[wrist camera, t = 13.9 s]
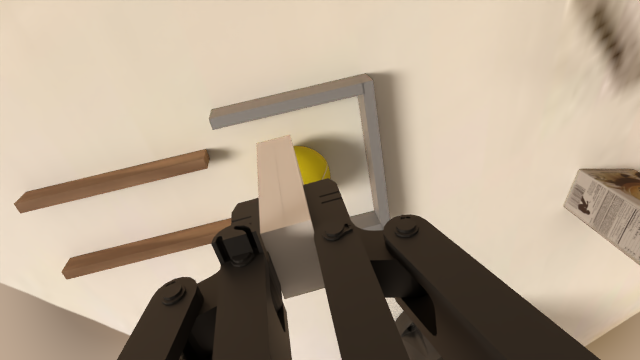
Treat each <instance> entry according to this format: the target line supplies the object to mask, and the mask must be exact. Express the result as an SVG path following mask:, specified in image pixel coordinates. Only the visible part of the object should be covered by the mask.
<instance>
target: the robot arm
mask: <svg viewBox="0 0 640 360" xmlns="http://www.w3.org/2000/svg"><path fill="white" fill-rule="evenodd" d="M257 168H258V192H259V198H256V199H253V200H249V201H245V202H242V203H238V204H237V205H236V207H235V209H234V210H233V212H232V217H231V222H232V223H231V225H230V226H228V227H226V228H224V229H222V230H221V231H219V232H218V233H217V234H216V235H215V236H214V238H213V240H212V242H211V244H212V246H213V249H214V251H215V253H216V255H217V257H218V259H219V262H220V264H221V268H220V270H219V271H218V272H217V273H216V274H214V275H213V276H211V277H209V278H207V279H205V280H203V281H201V282H200V283H198V284H197V283H196V281H195V280H194V279H192V278H190V277H181V278H177V279H174V280H172V281H170V282H168V283H166V284H164V285H163V286H162V287H161V288H159V289H158V290H157V292H156V293H155V294H154V295H153V297H152V299H151V300H150V302H149V304H148V306H147V307H146V309H145V311H144V313H143V315H142V316H141V318H140V320H139V322H138V323H137V325H136V327H135V329H134V330H133V332H132V334H131V336H130V338H129V339H128V341H127V343H126V345H125V346H124V348H123V350H122V352H121V354H120V355H119V357H118V359H117V360H292V357H291V348H290V339H289V330H288V321H287V312H286V309H285V307H284V304H283V301H282V293H283V296H284V299H287V298H290V297H294V296H297V295H301V294H305V293H308V292H312V291H315V290H319V289H322V288H325V289H326V294H327V298H328V302H329V307H330V311H331V315H332V320H333V324H334V328H335V333H336V337H337V341H338V345H339V350H340V354H341V358H342V360H600V359H599V358H598V357H596V356H595V355H594V354H593V353H591V352H590V351H589V350H587V349H586V348H585V347H584V346H583V345H581V344H580V343H579V342H578V341H576V340H575V339H574V338H573V337H571V336H570V335H569V334H568V333H566V332H565V331H564V330H563V329H561V328H560V327H559V326H558V325H556V324H555V323H554V322H553V321H551V320H550V319H549V318H548V317H546V316H545V315H544V314H543V313H541V312H540V311H539V310H538V309H536V308H535V307H534V306H533V305H531V304H530V303H529V302H528V301H526V300H525V299H524V298H523V297H521V296H520V295H519V294H518V293H516V292H515V291H514V290H513V289H511V288H510V287H509V286H508V285H506V284H505V283H504V282H503V281H501V280H500V279H499V278H498V277H497V276H495V275H494V274H493V273H492V272H490V271H489V270H488V269H487V268H485V267H484V266H483V265H482V264H480V263H479V262H478V261H477V260H475V259H474V258H473V257H472V256H470V255H469V254H468V253H467V252H465V251H464V250H463V249H462V248H460V247H459V246H458V245H457V244H455V243H454V242H453V241H452V240H450V239H449V238H448V237H447V236H445V235H444V234H443V233H442V232H440V231H439V230H438V229H437V228H435V227H434V226H433V225H432V224H430V223H429V222H428V221H427V220H425V219H423V218H421V217H420V216H415V215H401V216H397V217H394V218H392V219H391V220H389V221H388V222H387V223H386V224H385V226H384V229H383V230H375V231H374V230H364V229H361V228H358V227H357V226H355V225H354V224H353V222H352V221H351V219H350V217H349V214H348V212H347V209H346V207H345V204H344V202H343V199H342V197H341V194H340V192H339V189H338V187H337V184H336V183H335V182H333V181H332V180H330V179H329V178H327V179H323V180H319V181H316V182H312V183H308V184H304V183H303V180H302V176H301V172H300V169H299V165H298V162H297V158H296V154H295V151H294V147H293V144H292V140H291V136H290V135H286V136H283V137H279V138H275V139H271V140H268V141H264V142H260V143H257ZM281 291H282V293H281ZM385 298H395V300H396V302H397V303H398V304H399V305H400V307H401V308H402V309H403V310H404V312H403V313H402V314H401V315H400V316H399V317H398V318H397V320H396V321H394V319H393V316H392V314H391V311H390V309H389V307H388V304H387V302H386V299H385Z"/></svg>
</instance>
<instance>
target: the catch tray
mask: <svg viewBox="0 0 640 360" xmlns="http://www.w3.org/2000/svg"><path fill="white" fill-rule="evenodd" d="M354 96H358V101H359V108H360V115H361V122H362V129H363V136H364V143H365V150H366V157H367V164H368V171H369V177H370V184H371V191H372V198H373V205H374V211H372V212H368V213H364V214H360V215H356V216H352V217H350V219H351V221H352V222H353V224H354V225H355V226H357V227H358V228H361V229H364V230H374V231H375V230H383V229H384V226H385V224H386V223H387V222H388V221H389V220H390V215H389V207H388V199H387V190H386V182H385V174H384V166H383V158H382V149H381V141H380V133H379V125H378V116H377V108H376V100H375V92H374V84H373V80H372V79H371V78H370V77H369V76H368V75H367V74H366V73H365V74H361V75H357V76H353V77H348V78H344V79H340V80H335V81H331V82H327V83H323V84H318V85H314V86H310V87H306V88H301V89H297V90H293V91H288V92H284V93H280V94H276V95H271V96H267V97H263V98H259V99H254V100H250V101H246V102H242V103H237V104H233V105H229V106H224V107H220V108H216V109H212V110H211V113H210V117H209V121H210V124H211V126H212V129H213V130H214V129H219V128H223V127H227V126H231V125H235V124H240V123H244V122H248V121H252V120H257V119H261V118H265V117H269V116H273V115H278V114H282V113H286V112H290V111H295V110H299V109H303V108H307V107H312V106H316V105H320V104H324V103H328V102H333V101H337V100H341V99H345V98H350V97H354Z"/></svg>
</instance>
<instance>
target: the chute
mask: <svg viewBox="0 0 640 360" xmlns="http://www.w3.org/2000/svg"><path fill="white" fill-rule="evenodd" d="M209 159H210V158H209V156H208V153H207V150H206V149H204V150H200V151H196V152H192V153H187V154H183V155H179V156H175V157H171V158H166V159H162V160H158V161H154V162H150V163H146V164H141V165H137V166H133V167H129V168H125V169H120V170H116V171H112V172H108V173H104V174H99V175H95V176H91V177H87V178H83V179H79V180H74V181H70V182H66V183H62V184H58V185H53V186H49V187H45V188H41V189H37V190H32V191H28V192H26V193H25V194H24V195H23V196H21V197H20V198H19V199H18V200H17V201H16V202H15V203H14V205H15V206H16V208H17V209H18V211H19V212H20V213H24V212H28V211H32V210H36V209H41V208H45V207H49V206H53V205H57V204H61V203H65V202H70V201H74V200H78V199H82V198H86V197H90V196H94V195H99V194H103V193H107V192H111V191H115V190H119V189H124V188H128V187H132V186H136V185H140V184H144V183H148V182H153V181H157V180H161V179H165V178H169V177H173V176H177V175H182V174H186V173H190V172H194V171H198V170H202V169H206V168H208V163H209ZM231 223H232V222H231V218H230V219H226V220H222V221H218V222H214V223H210V224H206V225H202V226H198V227H194V228H190V229H186V230H182V231H178V232H174V233H169V234H165V235H161V236H157V237H153V238H149V239H145V240H141V241H137V242H133V243H129V244H125V245H121V246H117V247H113V248H109V249H105V250H101V251H97V252H93V253H89V254H85V255H81V256H77V257H73V258H70V259H69V261H68V262H67V264H66V266H65V267H64V269H63V270H62V273H63V275H64V276H65V278H66V279H71V278H75V277H79V276H83V275H87V274H91V273H95V272H99V271H103V270H107V269H111V268H115V267H119V266H123V265H127V264H131V263H135V262H139V261H143V260H147V259H151V258H155V257H159V256H163V255H167V254H171V253H175V252H179V251H183V250H187V249H191V248H195V247H199V246H203V245H207V244H211V242H212V240H213V238H214V236H215V235H216V234H217V233H218V232H219V231H221V230H222V229H224V228H226V227H228V226H230V225H231Z"/></svg>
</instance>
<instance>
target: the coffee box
mask: <svg viewBox="0 0 640 360" xmlns="http://www.w3.org/2000/svg"><path fill="white" fill-rule="evenodd" d="M563 206H564V207H565V208H566V209H567V210H569V211H570V212H571V213H573V214H574V215H575V216H577V217H578V218H579V219H580V220H582V221H583V222H584V223H586V224H587V225H588V226H590V227H591V228H592V229H593V230H595V231H596V232H597V233H599V234H600V235H601V236H602V237H604V238H605V239H606V240H608V241H609V242H610V243H611V244H613V245H614V246H615V247H617V248H618V249H619V250H621V251H622V252H623V253H624V254H626V255H627V256H628V257H630V258H631V259H632V260H633V261H635V262H636V263H637V264H639V265H640V173H639V172H638V171H636V170H633V169H580V170H579V171H578V173H577V175H576V178H575V180H574V182H573V185H572V187H571V189H570V191H569V194H568V196H567V198H566V201H565V203H564V205H563Z"/></svg>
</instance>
